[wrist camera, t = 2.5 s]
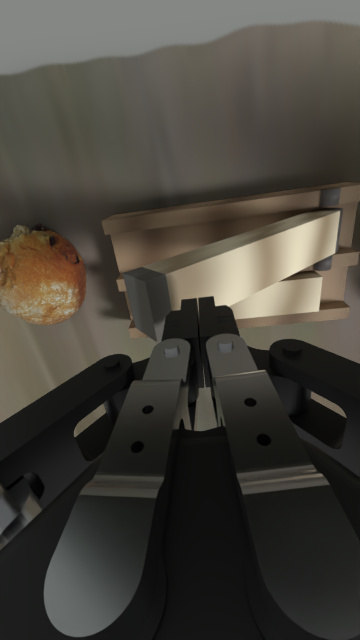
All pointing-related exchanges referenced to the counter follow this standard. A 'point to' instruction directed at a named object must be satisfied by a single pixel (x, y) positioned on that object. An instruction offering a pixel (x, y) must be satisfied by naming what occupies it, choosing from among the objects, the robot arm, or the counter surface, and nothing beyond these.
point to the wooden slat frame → (236, 218)
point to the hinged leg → (231, 267)
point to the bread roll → (40, 276)
